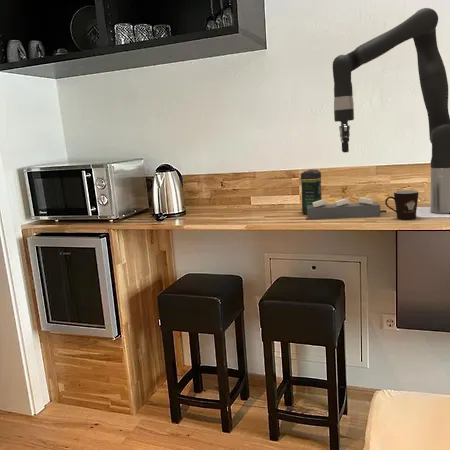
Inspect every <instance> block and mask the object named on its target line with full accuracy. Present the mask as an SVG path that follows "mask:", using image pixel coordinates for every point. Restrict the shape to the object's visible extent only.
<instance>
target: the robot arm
mask: <svg viewBox="0 0 450 450" xmlns="http://www.w3.org/2000/svg"><path fill="white" fill-rule="evenodd" d="M438 23H439V15H438V13H437V12H436V10H434V9H433V8H430V7H423V8H420V9H418V10H417V11H416V12H415V13H413V14H412V15H411V16H409V17H408V18H407V19H405V20H404V21H403V22H400V23H399V24H398V25H396V26H395V27H393V28H392V29H389V30H388V31H386V32H383V33H382V34H380V35H378V36H375V37H373V38H372V39H369V40H368V41H366V42H364V43H363V44H361V45H358V46H357V47H356V48H355V49H353V50H351V52H348V53H346V54H339V55H337V56H336V57H335V58H334V59H333V61H332V76H333V77H332V78H333V97H334V98H333V114H334V115H333V116H334V117H333V119H334V122H336V123H337V122H340V125H338V130H339V138H340V142H341V151H342V153H349V152H350V151H349V142H350V134H351V132H350V130H351V126H350V125H349V123H348V122H349V121H354V119H355V111H354V109H355V108H354V106H355V105H354V103H355V102H354V96H353V95H354V94H353V82H352V72H353V71H355V70H356V69H358V68H359V67H361V66H363V65H365V64H368V63H369V62H371V61H373V60H375V59H377V58H379V57H381V56H382V55H384V54H386V53H388V52H389V51H391V50H392V49H394V48H395V47H398V45H401V44H402V43H404V42H406V41H409V40H411V39H413V43H414V47H415V50H416V51H415V52H416V57H417V58H416V59H417V68H418V69H417V71H418V78H419V84H420V89H421V93H422V94H421V95H422V99H423V103H424V105H425V109H426V113H427V119H428V130H429V131H428V132H429V141H430V143H431V159H430V212H431V213H432V214H433V213H434V214H450V113H449V82H448V81H449V80H448V76H447V72H446V71H447V70H446V67H445V64H444V60H443V59H442V56H441V54H440V51H439V46H438V42H437V41H438V40H437V29H436V28H437V26H438Z"/></svg>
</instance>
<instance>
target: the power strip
mask: <svg viewBox="0 0 450 450" xmlns="http://www.w3.org/2000/svg"><path fill="white" fill-rule="evenodd" d="M387 212H388V211H387V210H386V209H381V204H380V203H379V202H378V201H374V202H373V205H372V204H367V203H361V202H352V203H351V202H350V203H347V204H343V205H340V206H337V205H336V203H332V204H329V203H328V204H324V205H321V206H317V207H313V205H307V214H306V216H307V220H308V221H309V220H329V219H330V220H331V219H348V218H349V219H350V218H351V219H353V218H374V217H381V214H384V213H387Z"/></svg>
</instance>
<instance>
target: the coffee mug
mask: <svg viewBox="0 0 450 450" xmlns="http://www.w3.org/2000/svg"><path fill="white" fill-rule="evenodd" d="M419 192H420V191H419V190H414V189H413V190H411V189H407V190H406V189H405V190H396V191H393V196H388V197H386V199H385V205H386V206H387V207H388V209H390V210H392V211H393V212H395V213H396V218H397V220H399V221H413V220H415V219H416V218H417V217H416V216H417V209H418V199H419ZM389 199H393V200H394V204H395V209H394V208H393V207H391V206H390V205H389V204H388V200H389Z"/></svg>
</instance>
